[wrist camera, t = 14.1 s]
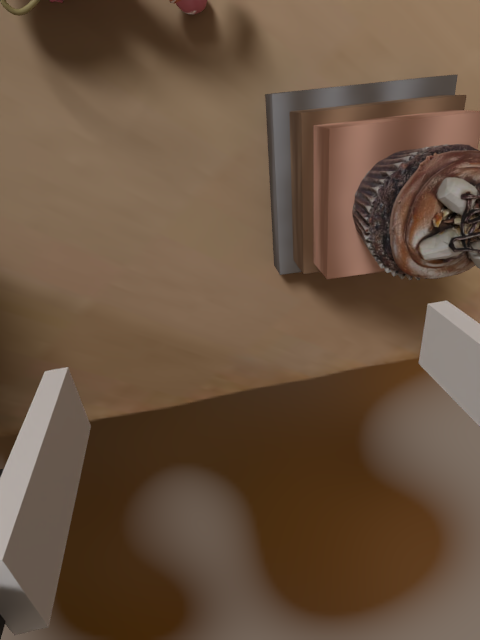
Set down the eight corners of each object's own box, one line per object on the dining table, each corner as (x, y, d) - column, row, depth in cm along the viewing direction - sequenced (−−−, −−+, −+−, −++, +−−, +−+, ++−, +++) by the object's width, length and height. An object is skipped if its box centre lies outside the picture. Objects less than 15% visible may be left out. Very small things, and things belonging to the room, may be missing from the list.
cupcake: (343, 145, 30) (410, 165, 21) (465, 131, 31) (579, 144, 22) (339, 265, 35) (393, 320, 26) (446, 250, 36) (533, 299, 27)
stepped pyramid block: (274, 264, 46) (299, 308, 36) (265, 94, 38) (295, 92, 28) (416, 245, 47) (477, 282, 38) (438, 76, 39) (524, 68, 29)
